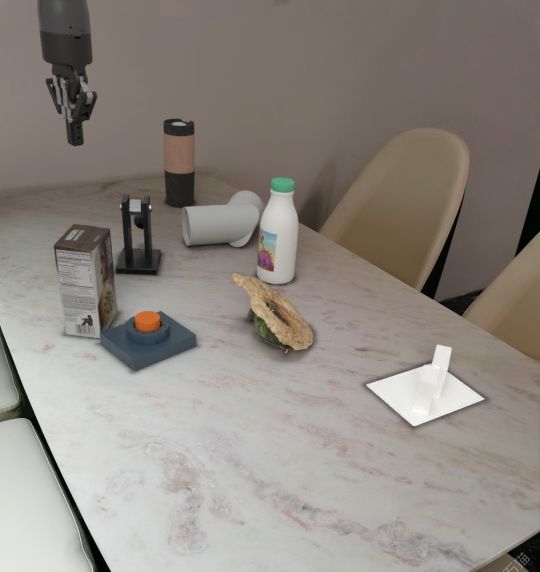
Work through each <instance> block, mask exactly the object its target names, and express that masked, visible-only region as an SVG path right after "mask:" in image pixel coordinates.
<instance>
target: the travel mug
mask: <svg viewBox="0 0 540 572" xmlns="http://www.w3.org/2000/svg"><path fill="white" fill-rule="evenodd" d="M162 125H163V164H164V165H163V169H164V170H163V171H164V172H163V173H164V186H165V202H166V204H167V205H168V206H171V207H175V208H183V207H191V206H194V202H195V179H196V177H195V176H196V149H195V147H196V145H195V143H196V142H195V141H196V140H195V122H194V121H193V120H189V121H184V120H183V119H182V118H168V119H167V118H166V119H165V120H163V124H162Z"/></svg>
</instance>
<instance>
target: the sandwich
mask: <svg viewBox="0 0 540 572" xmlns="http://www.w3.org/2000/svg"><path fill="white" fill-rule="evenodd" d="M231 276H232V278H233V281H234V283H236V286H237V287H239V288H241V289H243V290H244V291H245V293H246V294H247V295H248V297H249V298H250V300H249V303H250V308H249V311H248V313H247V319H248V321H249V322H252V318H253V324H254V328H255V332H256V334H257V335H258V337H260V338H261V339H262V340H263V342H264V343H266V344H268V345H270V346H274V347H277V348H280V349H282V350H284V352H283V354H284V355H286V354H287V353H288V352H289V348H287V346H290V347H291V348H292V349H293V350H294V351H300V350H308V349H309V347H310V346H312V345H313V342H314V334H313V330H312V328H311V327H310V326H309V324H308V323H307V321H306V320H305V319H304V318H303V316H302V315H301V314H300V313H299V312H298V310H296V308H295V306H294V305H293V304H292V303H291V302H290V301H288V300H287V299H286V298H285V297H284V296H283V295H282V294H281V293H279V292H278V291H276V289H274V288H273V287H272V286H270V285H269V283H267V282H264V281H262V280H260V279H259V278H258V277H253V276H249V275H242V274H239V273H237V272H234V273H233V274H232V275H231ZM286 345H287V346H286Z"/></svg>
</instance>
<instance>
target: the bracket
mask: <svg viewBox="0 0 540 572" xmlns="http://www.w3.org/2000/svg"><path fill="white" fill-rule="evenodd" d="M130 199H131V198H130V194H128V193H127V194H123V196H122V199H121V201H120V204H119V211H121V220H122V234H123V247H122V249H121V252H120V255H119V257H118V261H117V264H116V266H115V273H116V274H123V275H124V274H125V275H149V276H150V275H151V276H152V275H153V276H156V275H157V274H158V270H159V265H160V260H161V255H162V250H161V249H160V248H153V238H152V237H153V236H152V217H151V215H152V214H151V213H152V212H153V205H152V204H151V196H150V194H149V195H147V194H144V197H143V200H142V207H143V227H144V229H143V244H144V245H143V246H144V248H139V247H138V248H137V247H136V248H135V247H134V246H133V234H132V233H133V232H132V231H133V230H132V215H131V213H130V211H129V206H130Z"/></svg>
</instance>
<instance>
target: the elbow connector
mask: <svg viewBox="0 0 540 572" xmlns="http://www.w3.org/2000/svg"><path fill="white" fill-rule="evenodd" d="M264 210H265V208H264V203H263V201H262V199H261V197H260V196H259V195H258V194H256V193H255V192H253V191H251V190H240V191H238V192H236V193H235V194H233V196H232V197H231V198H230V199H229V201H228V202H227V204H212V205H209V204H208V205H191V206H188V207H182V210H181V231H182V236H183V241H184V243H185V245H186V246H187V247H189V246H190V247H191V246H202V245H203V246H205V245H215V244H229V245H230V246H232V247H233V248H234V247H235V248H240V247H243V246H245V245H246V244H248V243H249V241H250V239H251V237H252V235H253V234H254V232H255V230H256V228H257V226H258V224H260V223H259V222H261V217H262V214H263V212H264Z"/></svg>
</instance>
